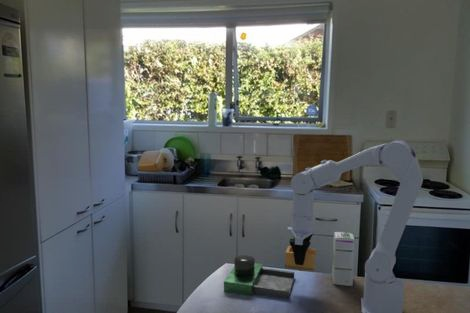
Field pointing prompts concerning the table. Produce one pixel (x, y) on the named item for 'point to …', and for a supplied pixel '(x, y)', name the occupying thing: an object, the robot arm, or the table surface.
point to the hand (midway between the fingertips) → (300, 260)
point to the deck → (257, 279)
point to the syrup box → (343, 258)
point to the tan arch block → (308, 262)
